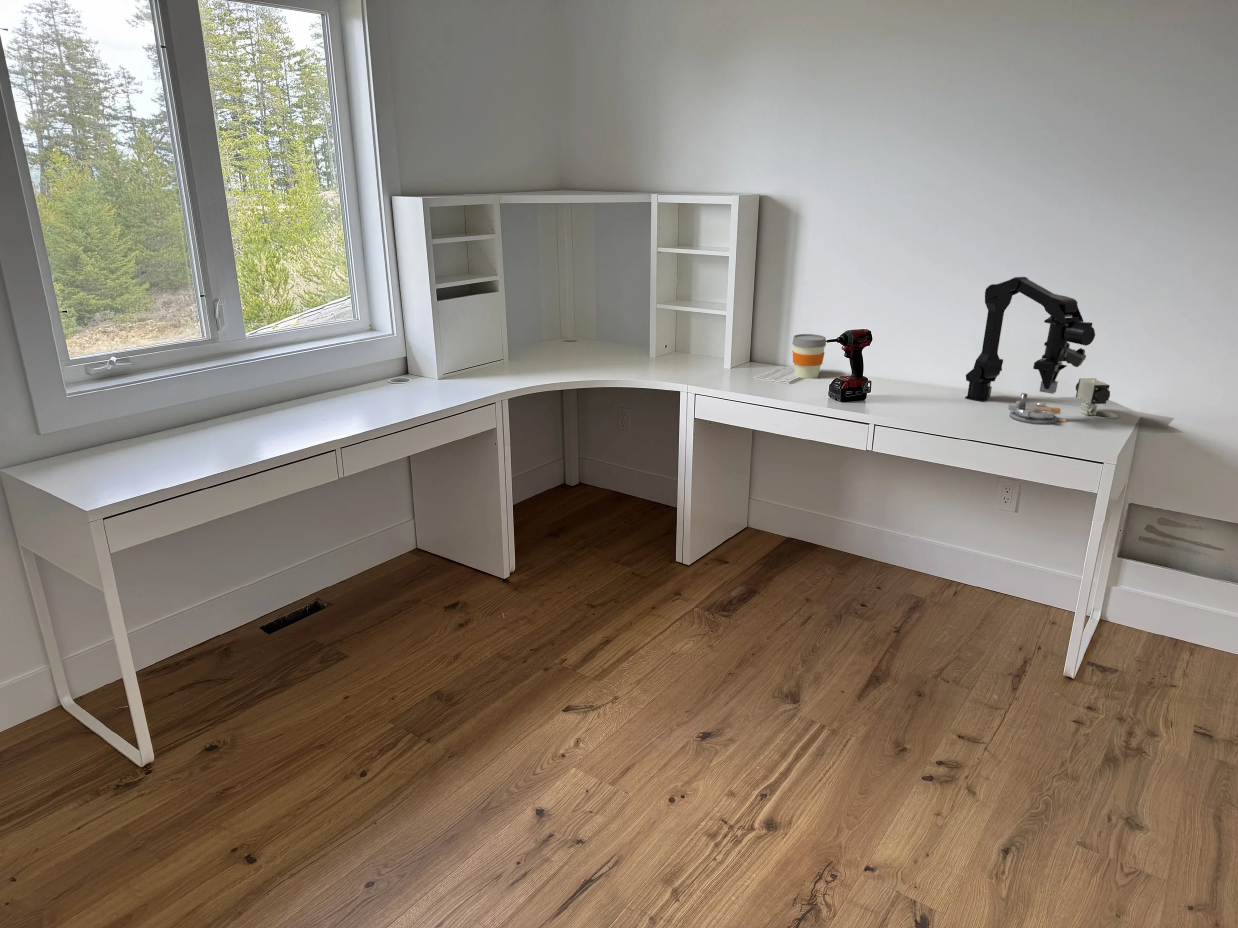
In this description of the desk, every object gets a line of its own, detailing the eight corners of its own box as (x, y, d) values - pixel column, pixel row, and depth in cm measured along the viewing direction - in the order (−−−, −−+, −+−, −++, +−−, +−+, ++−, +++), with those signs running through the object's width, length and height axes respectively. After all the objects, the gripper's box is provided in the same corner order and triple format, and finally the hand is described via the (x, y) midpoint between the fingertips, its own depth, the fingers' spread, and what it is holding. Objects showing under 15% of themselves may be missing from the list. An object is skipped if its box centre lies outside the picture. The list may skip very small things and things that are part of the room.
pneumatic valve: (1091, 419, 266) (1099, 383, 262) (1070, 409, 277) (1077, 374, 273) (1108, 419, 267) (1115, 382, 262) (1086, 409, 278) (1093, 374, 273)
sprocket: (1028, 422, 258) (1032, 400, 256) (999, 408, 272) (1002, 388, 270) (1068, 420, 261) (1073, 398, 258) (1037, 407, 275) (1041, 386, 272)
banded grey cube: (1039, 391, 263) (1041, 380, 262) (1042, 389, 265) (1044, 378, 264) (1052, 393, 261) (1055, 382, 259) (1055, 392, 263) (1058, 381, 261)
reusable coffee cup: (783, 375, 320) (786, 336, 315) (803, 370, 328) (806, 332, 323) (809, 381, 311) (813, 341, 306) (829, 376, 319) (833, 337, 314)
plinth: (1003, 418, 267) (1003, 415, 266) (1017, 409, 276) (1018, 407, 276) (1056, 428, 256) (1056, 425, 256) (1069, 419, 266) (1070, 416, 266)
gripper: (1077, 347, 246) (1066, 398, 251) (1094, 338, 258) (1084, 387, 264) (1037, 342, 253) (1028, 391, 258) (1056, 333, 266) (1047, 381, 271)
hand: (1048, 388), depth 262 cm, fingers closed on banded grey cube, 3 cm apart
